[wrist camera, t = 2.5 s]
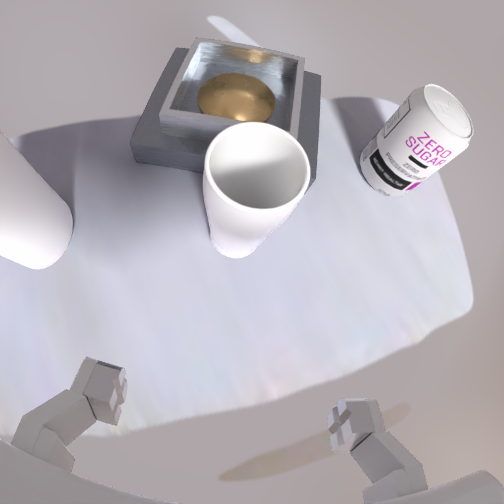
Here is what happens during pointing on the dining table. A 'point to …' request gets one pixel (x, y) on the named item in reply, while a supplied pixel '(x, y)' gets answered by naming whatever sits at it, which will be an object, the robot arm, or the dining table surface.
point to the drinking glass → (251, 184)
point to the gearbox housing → (225, 102)
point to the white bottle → (30, 213)
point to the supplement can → (416, 141)
